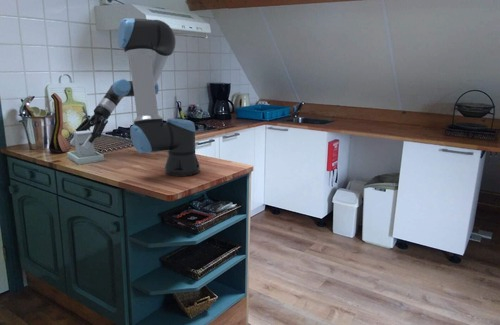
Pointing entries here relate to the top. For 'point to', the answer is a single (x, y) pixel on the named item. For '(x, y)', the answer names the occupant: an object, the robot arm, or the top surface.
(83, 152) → the supplement box
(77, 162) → the tray
